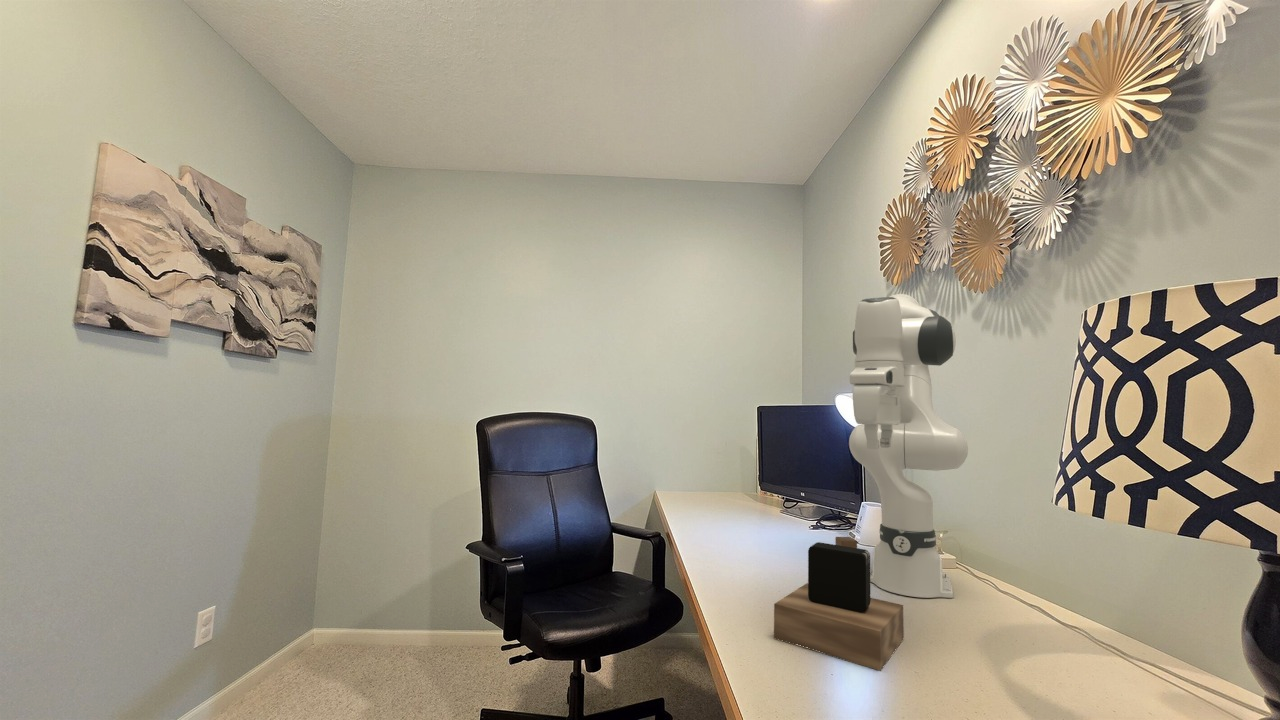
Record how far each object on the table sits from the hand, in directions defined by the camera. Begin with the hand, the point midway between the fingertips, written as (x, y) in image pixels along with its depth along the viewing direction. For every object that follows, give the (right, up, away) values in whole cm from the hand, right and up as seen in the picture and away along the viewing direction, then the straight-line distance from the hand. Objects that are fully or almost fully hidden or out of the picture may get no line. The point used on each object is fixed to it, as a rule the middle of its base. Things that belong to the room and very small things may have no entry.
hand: (879, 448), depth 104 cm
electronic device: (-10, -28, -7) cm, 30 cm away
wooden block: (-4, -35, +7) cm, 36 cm away
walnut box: (-11, -33, -7) cm, 36 cm away
